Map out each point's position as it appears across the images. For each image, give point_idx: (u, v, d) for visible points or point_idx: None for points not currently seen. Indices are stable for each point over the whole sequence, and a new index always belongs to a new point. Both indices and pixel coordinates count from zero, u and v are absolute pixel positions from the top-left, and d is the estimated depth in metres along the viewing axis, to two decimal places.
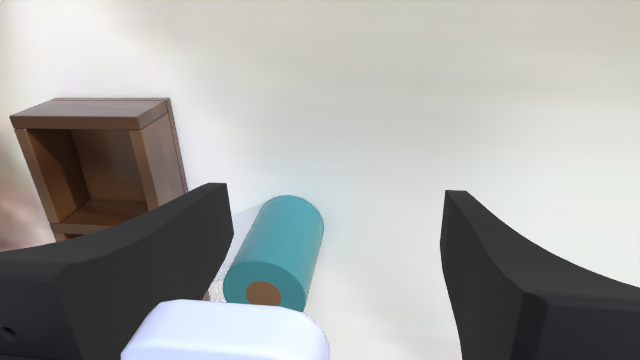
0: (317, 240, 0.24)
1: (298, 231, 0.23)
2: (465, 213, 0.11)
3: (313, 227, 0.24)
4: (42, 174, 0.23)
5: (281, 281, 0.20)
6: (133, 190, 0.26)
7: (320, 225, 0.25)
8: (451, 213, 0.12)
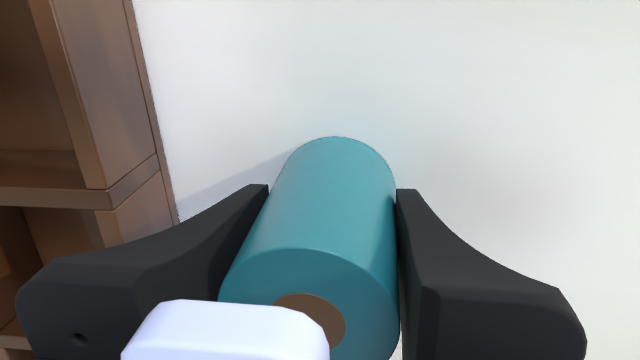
0: (395, 213, 0.13)
1: (368, 193, 0.11)
2: (406, 211, 0.11)
3: (387, 188, 0.13)
4: None
5: (349, 295, 0.09)
6: (65, 131, 0.15)
7: (394, 189, 0.14)
8: (397, 211, 0.12)
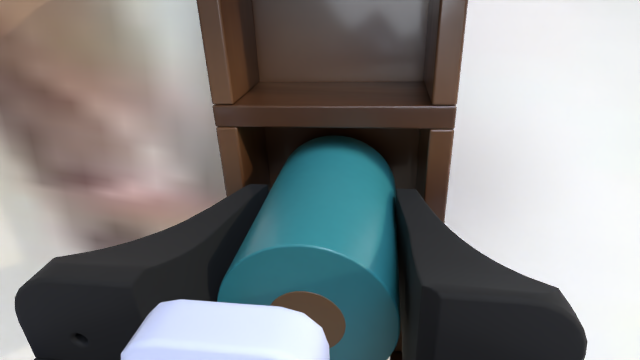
0: (395, 212, 0.13)
1: (368, 191, 0.11)
2: (406, 211, 0.11)
3: (387, 187, 0.13)
4: None
5: (349, 293, 0.09)
6: (345, 60, 0.15)
7: (394, 187, 0.14)
8: (397, 211, 0.12)
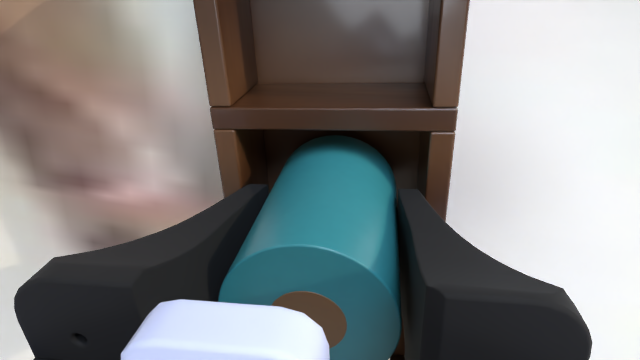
0: (396, 212, 0.13)
1: (369, 191, 0.11)
2: (408, 211, 0.11)
3: (388, 187, 0.13)
4: None
5: (350, 293, 0.09)
6: (344, 61, 0.14)
7: (395, 187, 0.14)
8: (399, 211, 0.12)
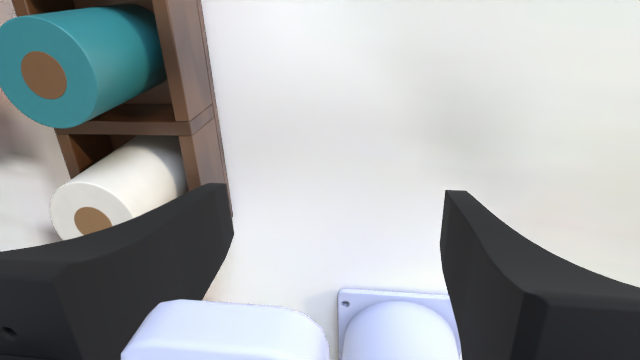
0: (149, 44, 0.19)
1: (112, 18, 0.18)
2: (465, 213, 0.11)
3: (145, 28, 0.19)
4: None
5: (60, 49, 0.15)
6: None
7: None
8: (451, 213, 0.12)
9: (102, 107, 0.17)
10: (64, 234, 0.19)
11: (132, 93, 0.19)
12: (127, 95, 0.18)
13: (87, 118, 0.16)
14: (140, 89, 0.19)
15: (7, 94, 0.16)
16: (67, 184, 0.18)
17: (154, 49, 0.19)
